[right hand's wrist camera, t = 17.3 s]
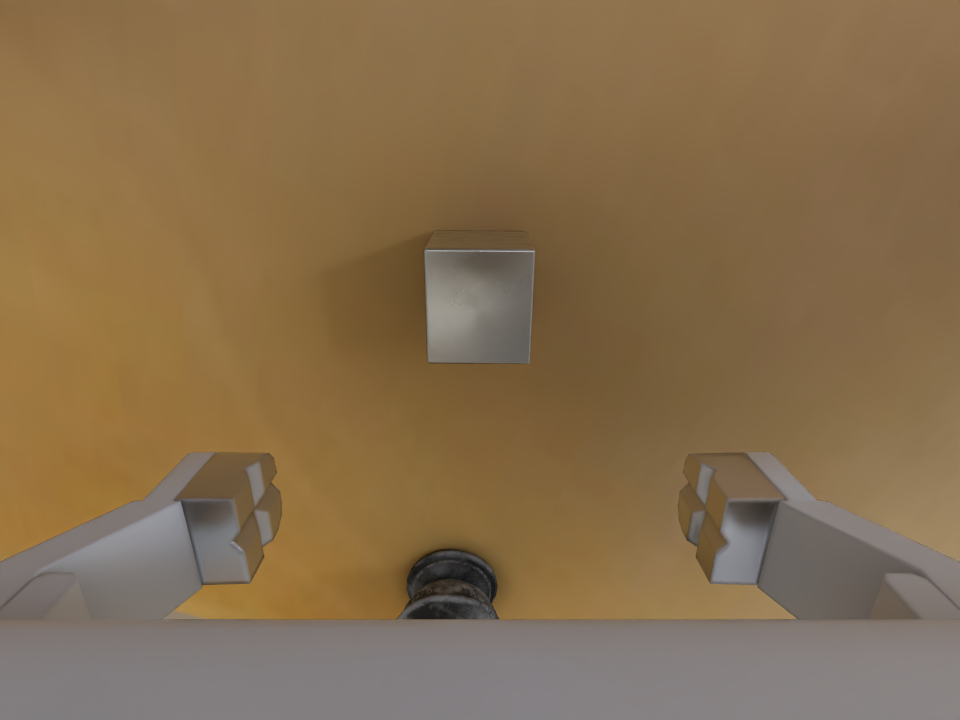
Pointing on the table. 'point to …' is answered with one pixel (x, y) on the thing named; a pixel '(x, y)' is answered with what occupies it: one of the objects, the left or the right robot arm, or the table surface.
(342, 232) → the table surface
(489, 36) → the table surface
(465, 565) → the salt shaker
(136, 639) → the right robot arm
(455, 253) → the block
